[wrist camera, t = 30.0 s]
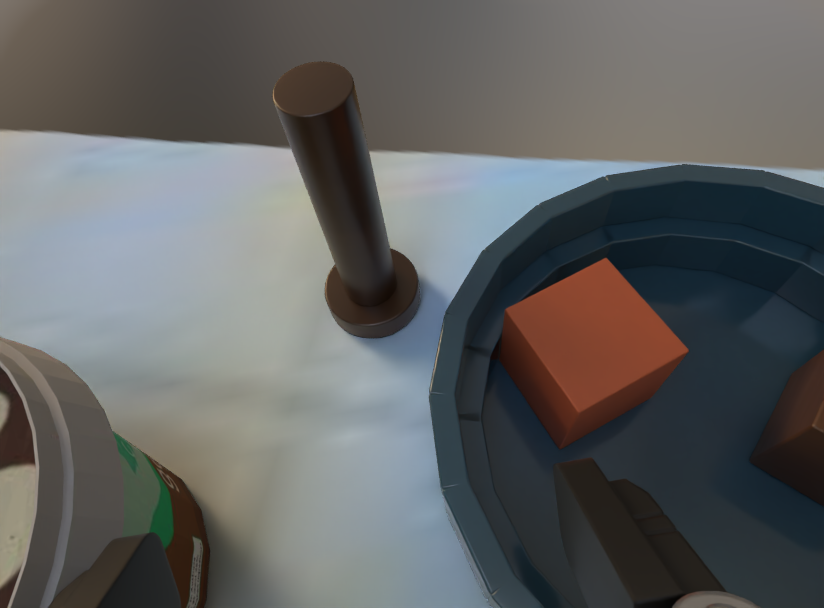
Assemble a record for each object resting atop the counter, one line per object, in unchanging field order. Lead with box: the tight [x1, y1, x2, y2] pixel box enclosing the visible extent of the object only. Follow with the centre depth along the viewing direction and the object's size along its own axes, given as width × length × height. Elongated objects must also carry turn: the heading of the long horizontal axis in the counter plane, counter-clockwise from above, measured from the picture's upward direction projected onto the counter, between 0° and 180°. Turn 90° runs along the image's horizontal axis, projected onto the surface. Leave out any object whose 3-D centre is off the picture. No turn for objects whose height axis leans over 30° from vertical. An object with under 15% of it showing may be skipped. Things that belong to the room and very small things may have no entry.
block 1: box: [499, 258, 689, 449], centre depth 19 cm, size 4×4×4 cm
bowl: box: [429, 164, 824, 608], centre depth 17 cm, size 18×18×5 cm
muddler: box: [273, 62, 420, 338], centre depth 19 cm, size 4×4×11 cm
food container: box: [0, 337, 210, 608], centre depth 16 cm, size 12×6×10 cm, turn 75°
